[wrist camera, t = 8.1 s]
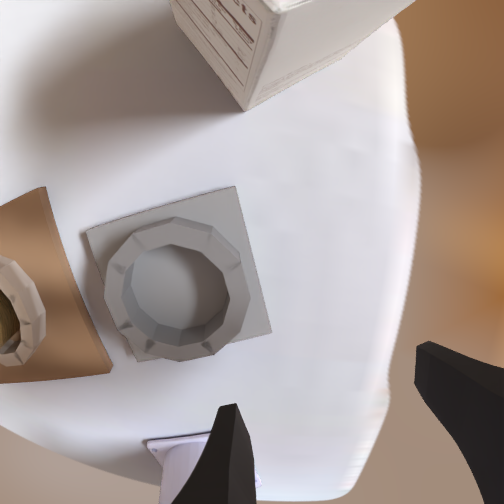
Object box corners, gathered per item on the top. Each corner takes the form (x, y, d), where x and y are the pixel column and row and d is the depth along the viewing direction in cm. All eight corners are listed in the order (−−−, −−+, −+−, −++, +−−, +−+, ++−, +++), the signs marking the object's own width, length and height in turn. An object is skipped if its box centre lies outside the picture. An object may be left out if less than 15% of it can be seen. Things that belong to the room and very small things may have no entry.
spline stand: (269, 325, 20) (277, 350, 17) (140, 354, 20) (131, 380, 17) (235, 185, 18) (237, 189, 15) (91, 227, 17) (70, 239, 15)
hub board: (113, 365, 20) (101, 390, 17) (1, 377, 20) (-14, 396, 17) (45, 186, 16) (19, 191, 14) (-57, 241, 16) (-80, 251, 13)
